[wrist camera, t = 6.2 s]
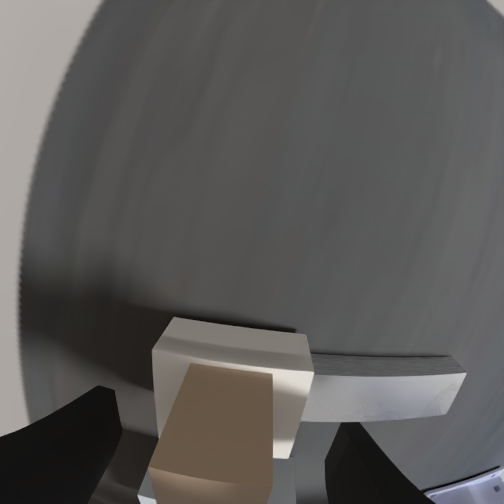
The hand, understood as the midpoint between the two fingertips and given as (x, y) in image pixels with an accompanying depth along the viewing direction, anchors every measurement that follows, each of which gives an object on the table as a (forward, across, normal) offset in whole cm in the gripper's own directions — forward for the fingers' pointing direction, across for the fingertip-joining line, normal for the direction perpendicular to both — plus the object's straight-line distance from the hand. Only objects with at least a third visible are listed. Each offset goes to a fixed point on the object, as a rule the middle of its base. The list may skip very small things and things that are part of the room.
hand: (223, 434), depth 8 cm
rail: (+4, -4, 0) cm, 5 cm away
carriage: (+4, 0, 0) cm, 4 cm away
